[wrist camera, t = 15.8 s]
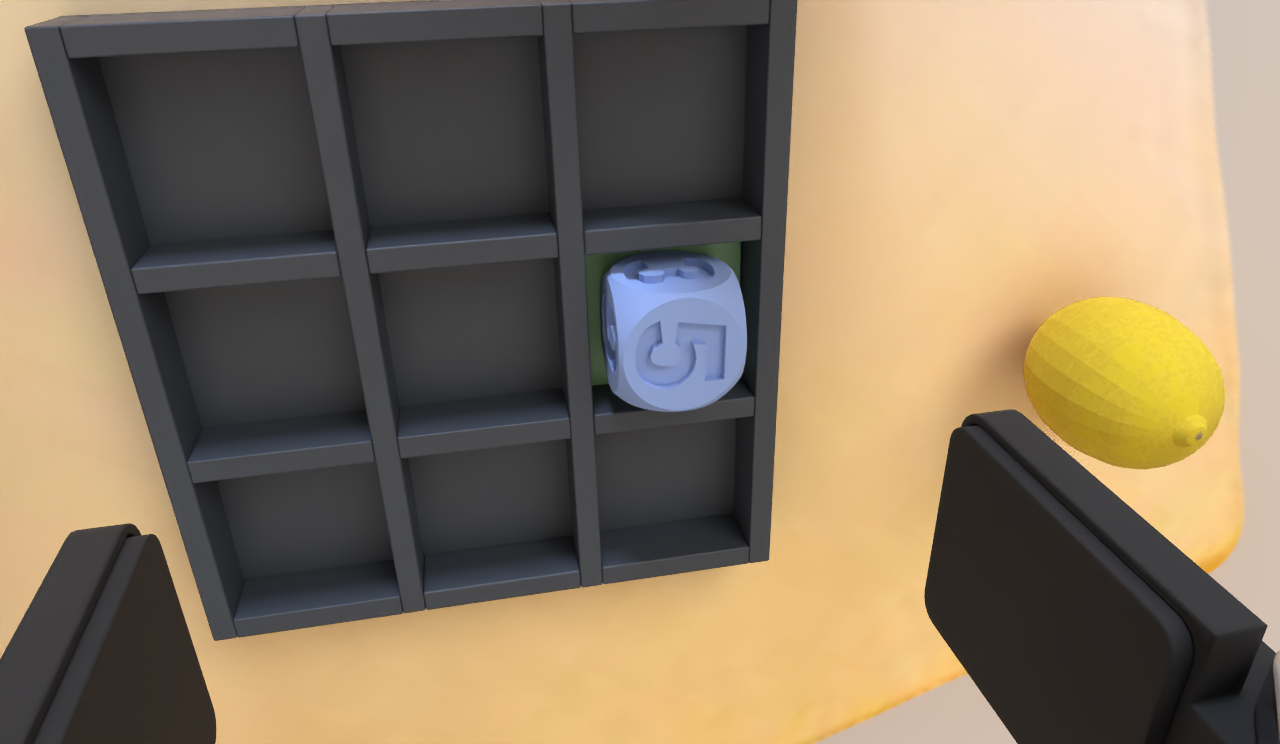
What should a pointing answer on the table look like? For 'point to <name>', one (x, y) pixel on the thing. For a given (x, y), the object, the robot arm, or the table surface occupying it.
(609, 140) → the grid tray
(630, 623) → the table surface
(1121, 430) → the lemon
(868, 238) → the table surface
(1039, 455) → the robot arm
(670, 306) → the decorative dice
